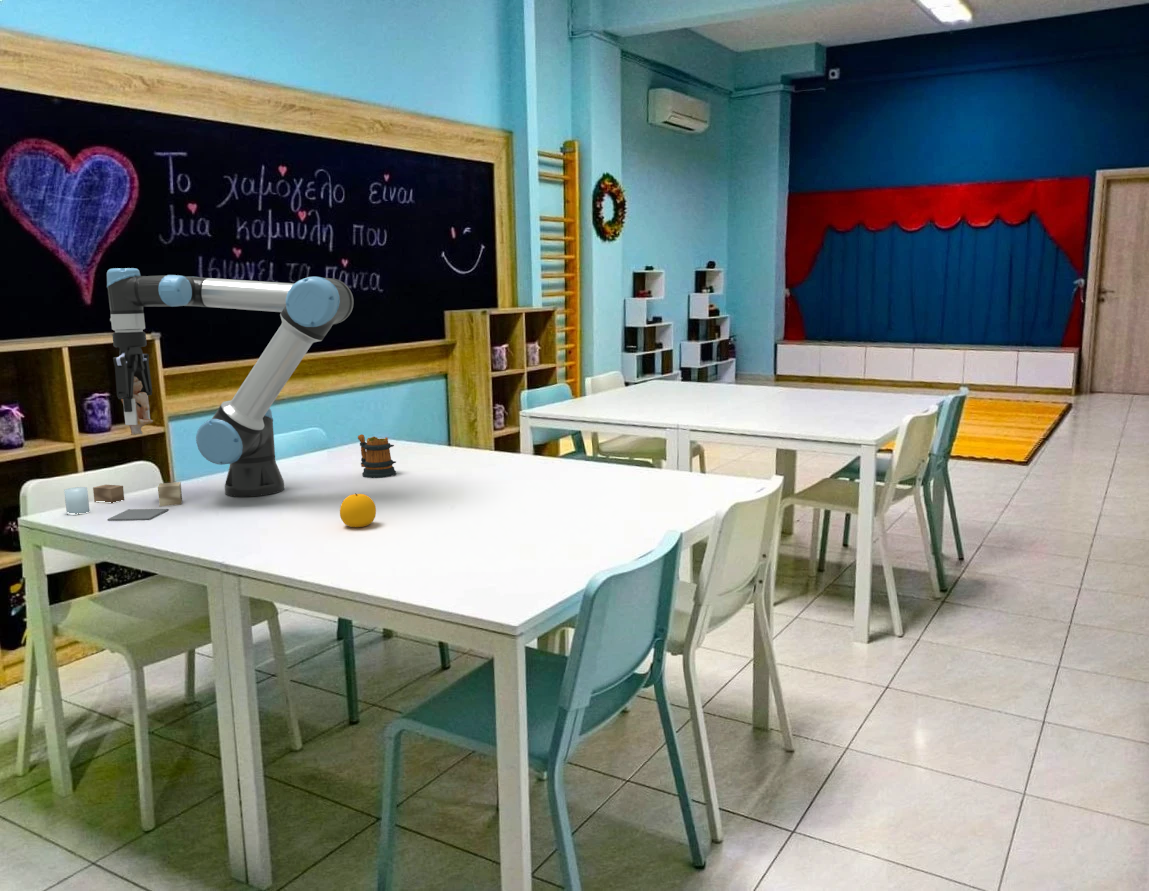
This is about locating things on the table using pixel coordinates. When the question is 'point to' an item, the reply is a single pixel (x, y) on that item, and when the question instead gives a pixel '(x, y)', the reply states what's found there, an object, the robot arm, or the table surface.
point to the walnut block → (108, 493)
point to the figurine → (140, 407)
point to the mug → (376, 457)
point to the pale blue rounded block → (77, 500)
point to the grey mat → (137, 514)
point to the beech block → (170, 494)
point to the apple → (357, 510)
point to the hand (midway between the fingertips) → (138, 422)
